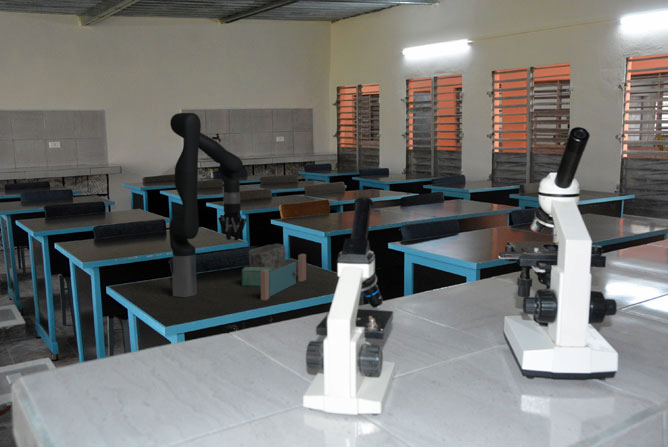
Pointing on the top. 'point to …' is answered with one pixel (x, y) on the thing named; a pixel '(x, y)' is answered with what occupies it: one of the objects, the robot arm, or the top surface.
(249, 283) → the box
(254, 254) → the petrified wood
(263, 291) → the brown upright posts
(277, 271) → the door
